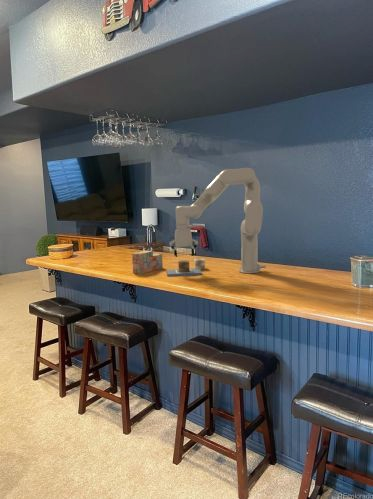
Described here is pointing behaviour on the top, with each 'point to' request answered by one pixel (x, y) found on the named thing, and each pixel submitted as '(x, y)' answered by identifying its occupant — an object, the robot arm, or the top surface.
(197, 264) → the maple cube
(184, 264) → the walnut cube
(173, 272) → the board
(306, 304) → the top surface
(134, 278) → the top surface
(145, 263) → the stack of blocks
